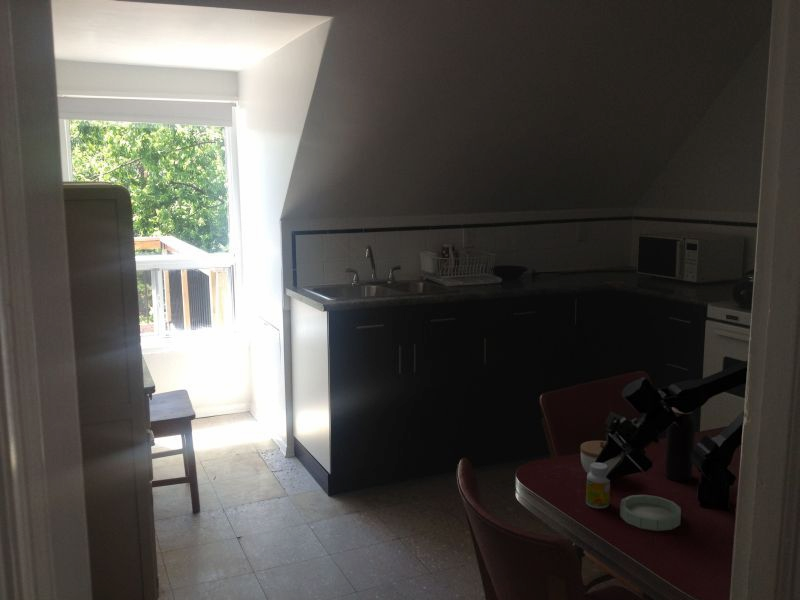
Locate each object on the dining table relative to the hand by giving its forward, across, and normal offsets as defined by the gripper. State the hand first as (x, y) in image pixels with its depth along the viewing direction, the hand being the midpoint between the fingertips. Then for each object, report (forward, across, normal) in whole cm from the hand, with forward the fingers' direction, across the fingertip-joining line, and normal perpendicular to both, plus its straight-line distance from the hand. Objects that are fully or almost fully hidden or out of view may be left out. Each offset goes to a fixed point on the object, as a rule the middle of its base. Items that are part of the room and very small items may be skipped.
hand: (601, 470), depth 175 cm
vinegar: (-12, -16, +23) cm, 31 cm away
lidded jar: (+3, -17, +10) cm, 20 cm away
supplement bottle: (+7, 0, +6) cm, 9 cm away
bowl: (-1, +7, +13) cm, 14 cm away
